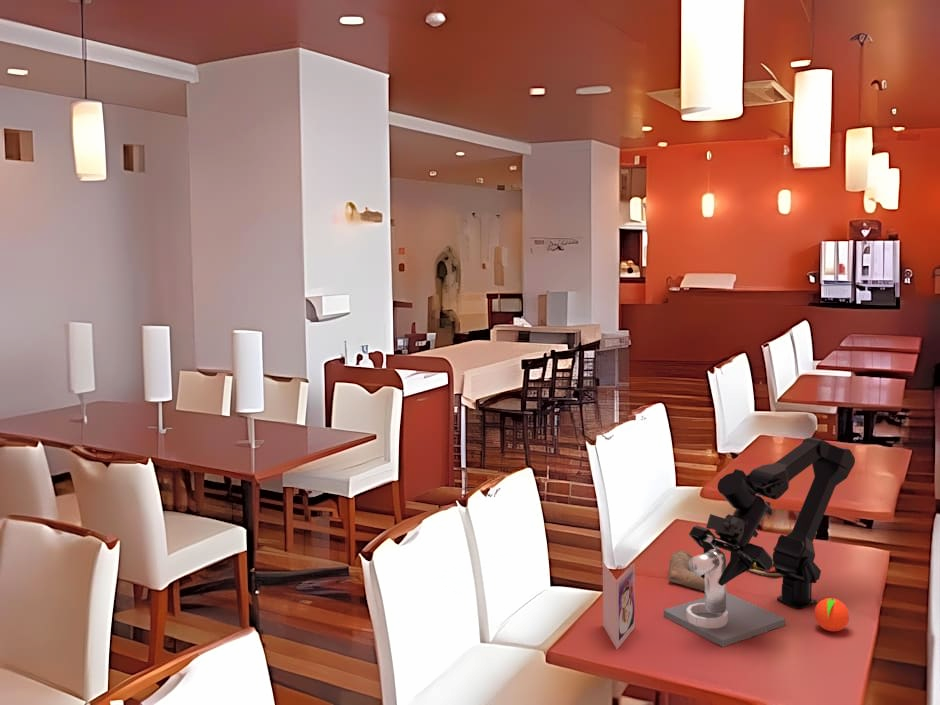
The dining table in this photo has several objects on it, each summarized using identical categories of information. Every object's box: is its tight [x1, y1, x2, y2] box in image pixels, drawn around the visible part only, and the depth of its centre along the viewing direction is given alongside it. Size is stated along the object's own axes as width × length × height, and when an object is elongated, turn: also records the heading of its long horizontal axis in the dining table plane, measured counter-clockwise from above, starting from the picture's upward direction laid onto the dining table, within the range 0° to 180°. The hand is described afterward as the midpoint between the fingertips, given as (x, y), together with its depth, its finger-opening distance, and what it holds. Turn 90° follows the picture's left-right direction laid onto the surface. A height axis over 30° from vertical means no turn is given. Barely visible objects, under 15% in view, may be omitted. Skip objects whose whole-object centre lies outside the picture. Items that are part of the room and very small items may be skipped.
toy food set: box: [749, 555, 784, 577], centre depth 223 cm, size 13×13×3 cm
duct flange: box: [663, 591, 786, 648], centre depth 193 cm, size 19×18×4 cm
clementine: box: [814, 597, 850, 632], centre depth 187 cm, size 8×7×7 cm
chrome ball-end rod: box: [689, 549, 727, 613], centre depth 184 cm, size 8×4×13 cm, turn 124°
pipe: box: [667, 550, 705, 593], centre depth 215 cm, size 6×17×10 cm
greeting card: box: [602, 561, 636, 650], centre depth 187 cm, size 11×7×15 cm, turn 151°
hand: (711, 581), depth 184 cm, fingers closed on chrome ball-end rod, 4 cm apart
